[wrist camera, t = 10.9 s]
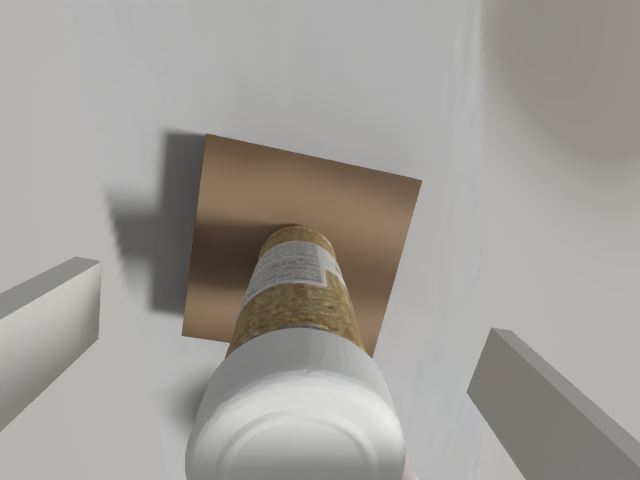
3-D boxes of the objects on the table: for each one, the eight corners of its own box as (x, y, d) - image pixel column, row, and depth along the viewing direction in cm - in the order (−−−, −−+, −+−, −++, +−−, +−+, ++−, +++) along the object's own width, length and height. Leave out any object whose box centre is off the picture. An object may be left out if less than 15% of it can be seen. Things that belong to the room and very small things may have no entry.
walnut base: (219, 136, 20) (206, 133, 17) (405, 176, 22) (422, 180, 19) (196, 312, 23) (181, 335, 20) (362, 338, 24) (370, 363, 22)
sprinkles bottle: (337, 293, 20) (410, 549, 7) (261, 299, 20) (197, 575, 7) (333, 219, 19) (414, 368, 6) (253, 225, 19) (156, 393, 6)
